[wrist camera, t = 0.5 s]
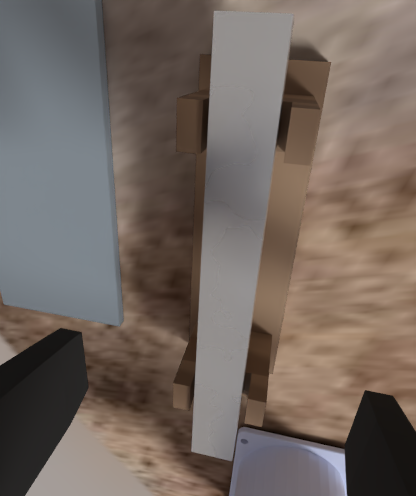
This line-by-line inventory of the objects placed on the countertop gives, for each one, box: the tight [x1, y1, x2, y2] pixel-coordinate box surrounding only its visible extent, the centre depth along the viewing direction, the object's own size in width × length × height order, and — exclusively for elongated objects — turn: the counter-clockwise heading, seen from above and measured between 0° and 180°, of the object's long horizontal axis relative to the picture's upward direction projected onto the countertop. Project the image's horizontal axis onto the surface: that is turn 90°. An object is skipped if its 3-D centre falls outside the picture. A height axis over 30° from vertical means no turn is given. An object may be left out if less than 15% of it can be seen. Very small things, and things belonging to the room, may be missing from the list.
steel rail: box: [191, 11, 294, 461], centre depth 14 cm, size 18×2×2 cm, turn 177°
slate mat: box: [0, 0, 123, 326], centre depth 19 cm, size 20×8×1 cm, turn 177°
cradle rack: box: [173, 54, 331, 427], centre depth 16 cm, size 16×5×6 cm, turn 177°
